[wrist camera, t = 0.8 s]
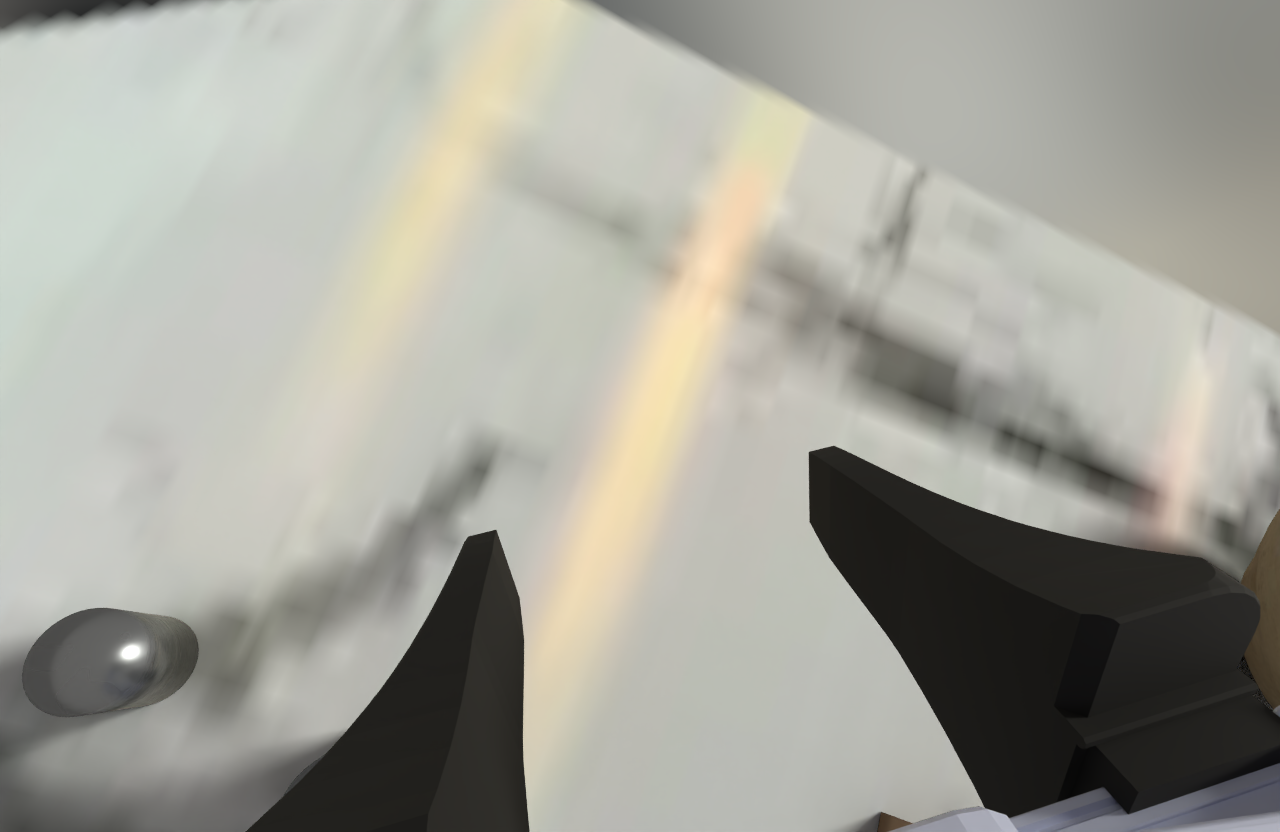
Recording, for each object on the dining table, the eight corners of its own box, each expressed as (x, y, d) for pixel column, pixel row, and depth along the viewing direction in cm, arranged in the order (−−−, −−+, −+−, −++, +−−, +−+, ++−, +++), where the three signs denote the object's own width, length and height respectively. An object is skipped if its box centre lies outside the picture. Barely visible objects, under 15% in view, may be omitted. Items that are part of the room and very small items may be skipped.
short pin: (157, 721, 21) (95, 734, 17) (75, 684, 21) (-6, 690, 17) (217, 637, 22) (170, 633, 19) (140, 601, 22) (78, 590, 19)
